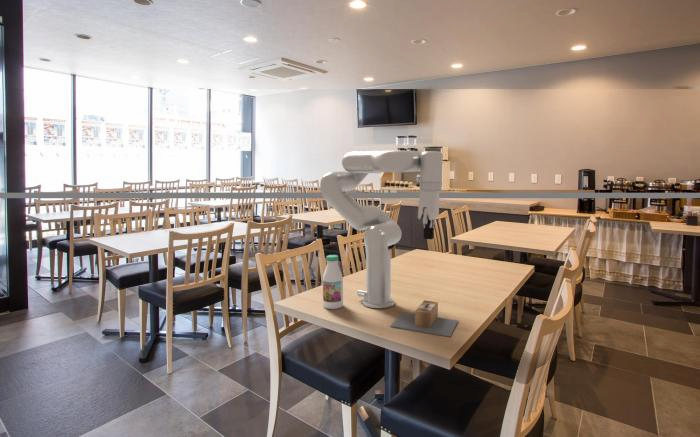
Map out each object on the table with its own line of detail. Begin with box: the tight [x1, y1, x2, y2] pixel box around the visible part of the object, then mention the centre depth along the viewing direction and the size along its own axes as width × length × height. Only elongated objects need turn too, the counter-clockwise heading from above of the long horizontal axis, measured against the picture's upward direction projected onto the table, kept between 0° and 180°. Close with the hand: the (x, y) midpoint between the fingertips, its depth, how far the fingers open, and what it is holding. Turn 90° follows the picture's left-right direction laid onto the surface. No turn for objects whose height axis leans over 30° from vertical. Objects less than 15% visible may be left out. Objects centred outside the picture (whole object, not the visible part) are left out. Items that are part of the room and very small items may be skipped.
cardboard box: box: [414, 299, 439, 328], centre depth 138 cm, size 5×5×12 cm
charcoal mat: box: [389, 311, 459, 338], centre depth 136 cm, size 20×14×1 cm
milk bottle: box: [322, 254, 344, 310], centre depth 153 cm, size 8×8×20 cm
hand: (428, 238), depth 141 cm, fingers closed
